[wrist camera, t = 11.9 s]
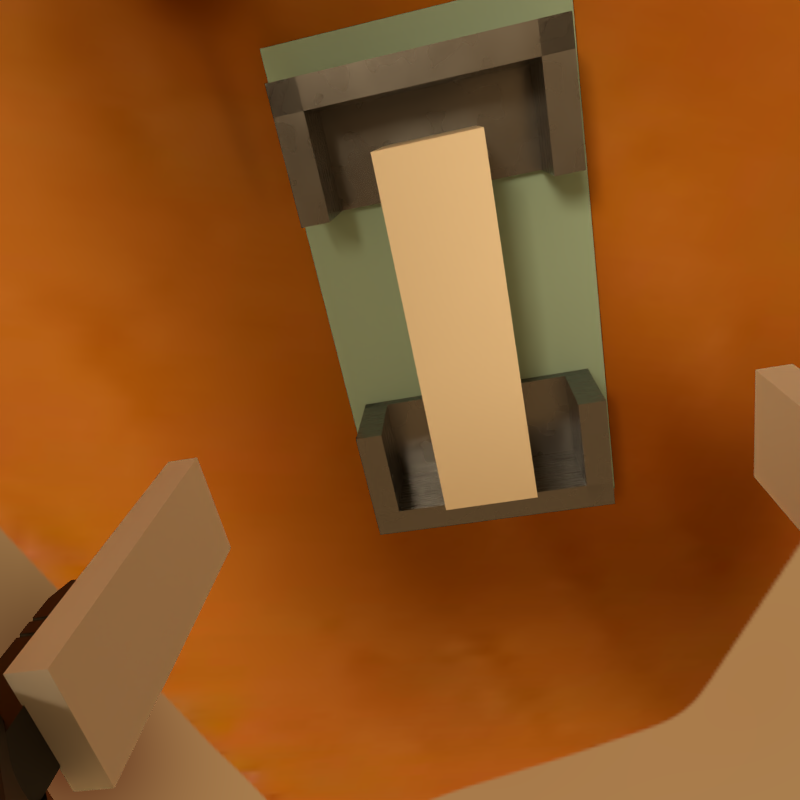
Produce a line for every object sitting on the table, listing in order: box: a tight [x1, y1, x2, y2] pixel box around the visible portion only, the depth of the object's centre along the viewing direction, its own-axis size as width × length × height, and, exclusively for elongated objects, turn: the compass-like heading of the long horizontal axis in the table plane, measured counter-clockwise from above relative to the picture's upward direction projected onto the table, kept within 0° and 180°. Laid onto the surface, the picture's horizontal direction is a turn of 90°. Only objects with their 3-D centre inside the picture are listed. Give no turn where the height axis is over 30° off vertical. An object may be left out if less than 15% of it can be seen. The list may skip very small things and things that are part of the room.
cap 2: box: [356, 368, 615, 535], centre depth 32 cm, size 5×11×4 cm, turn 102°
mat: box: [260, 0, 615, 488], centre depth 31 cm, size 24×13×1 cm, turn 12°
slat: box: [370, 125, 538, 510], centre depth 28 cm, size 15×4×6 cm, turn 12°
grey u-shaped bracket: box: [265, 11, 586, 228], centre depth 26 cm, size 5×11×4 cm, turn 102°
